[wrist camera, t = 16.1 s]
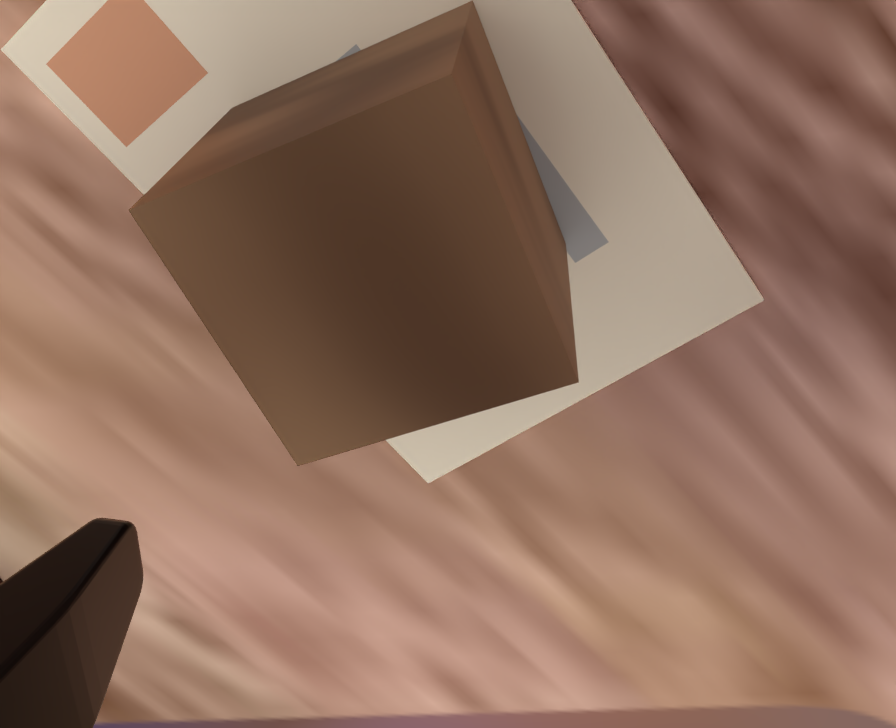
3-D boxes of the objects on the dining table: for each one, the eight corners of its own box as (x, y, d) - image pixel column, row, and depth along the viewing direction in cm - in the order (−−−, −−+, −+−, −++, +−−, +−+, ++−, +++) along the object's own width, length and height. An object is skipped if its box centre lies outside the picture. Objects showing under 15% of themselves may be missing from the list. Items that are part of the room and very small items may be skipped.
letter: (761, 295, 18) (764, 300, 17) (428, 478, 21) (428, 483, 21) (357, -331, 12) (354, -334, 12) (6, 47, 16) (1, 49, 16)
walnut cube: (349, 318, 18) (297, 465, 14) (231, 107, 16) (129, 210, 12) (565, 243, 17) (579, 382, 13) (473, 0, 15) (451, 73, 10)
